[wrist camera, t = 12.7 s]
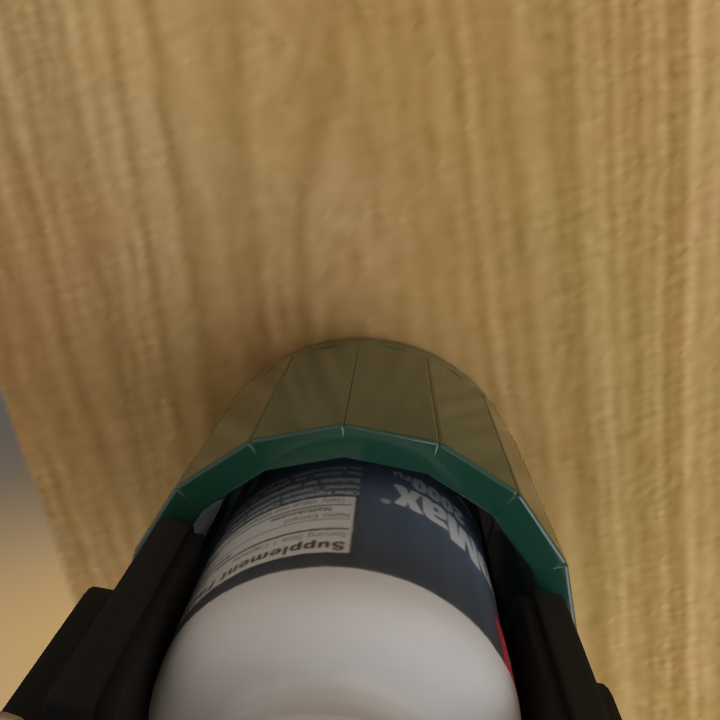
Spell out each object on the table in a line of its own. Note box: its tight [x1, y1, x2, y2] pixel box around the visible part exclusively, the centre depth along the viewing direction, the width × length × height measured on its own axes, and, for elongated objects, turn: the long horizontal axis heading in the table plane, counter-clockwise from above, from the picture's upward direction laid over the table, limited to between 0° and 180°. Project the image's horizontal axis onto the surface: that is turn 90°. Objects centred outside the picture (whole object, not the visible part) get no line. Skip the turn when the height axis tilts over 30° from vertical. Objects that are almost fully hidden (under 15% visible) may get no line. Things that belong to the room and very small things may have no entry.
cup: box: [132, 339, 577, 632], centre depth 14 cm, size 8×8×6 cm
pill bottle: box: [148, 458, 521, 720], centre depth 11 cm, size 5×5×9 cm
